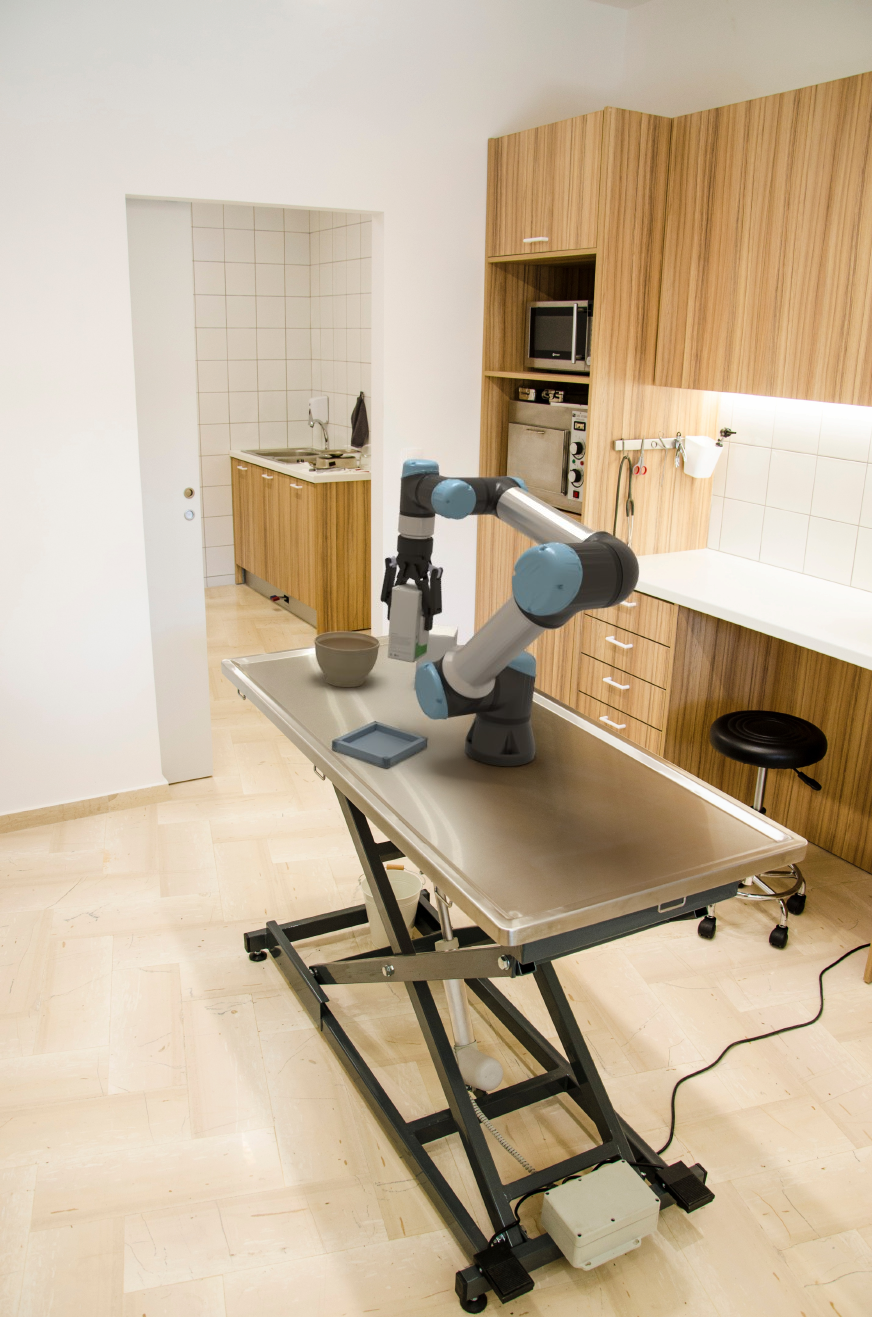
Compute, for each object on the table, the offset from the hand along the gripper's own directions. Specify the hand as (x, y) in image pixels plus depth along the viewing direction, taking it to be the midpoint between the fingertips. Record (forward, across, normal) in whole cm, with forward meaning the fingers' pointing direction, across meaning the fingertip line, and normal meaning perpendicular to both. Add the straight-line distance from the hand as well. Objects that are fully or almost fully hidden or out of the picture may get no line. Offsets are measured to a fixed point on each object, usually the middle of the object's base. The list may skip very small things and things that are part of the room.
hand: (408, 639), depth 213 cm
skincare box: (+4, 0, 0) cm, 4 cm away
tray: (+21, -3, +12) cm, 24 cm away
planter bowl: (+21, +29, -15) cm, 39 cm away
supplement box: (+21, +12, -29) cm, 38 cm away
